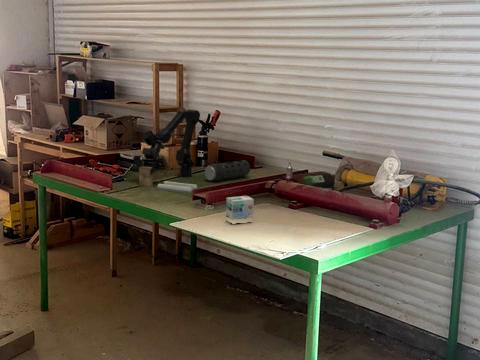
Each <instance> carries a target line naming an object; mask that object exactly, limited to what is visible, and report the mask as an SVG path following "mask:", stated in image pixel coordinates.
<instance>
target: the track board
mask: <svg viewBox="0 0 480 360" xmlns="http://www.w3.org/2000/svg"><path fill="white" fill-rule="evenodd" d="M196 188H198V185H197V184H193V183H182V182H175V181H166V180H164V181H163V183H158V184H157V187H156V190H161V191H165V192H166V191H167V192H173V193H174V192H175V193H182V194H183V193H184V194H191V193H193V192H194V191H193V190H194V189H196ZM198 189H199V188H198ZM192 191H193V192H192Z"/></svg>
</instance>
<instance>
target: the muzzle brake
mask: <svg viewBox="0 0 480 360" xmlns="http://www.w3.org/2000/svg"><path fill="white" fill-rule="evenodd" d="M250 171H251V165H250V163H249V161H247V160H246V159H243V160H236V161H229V162H223V163H222V162H221V163H212V164H209V165H207V166H206V167H205V169H204V175H205V178H206V179H207V180H208V181H212V182H214V181H216V182H221V181H220V180H222V181H223V180H226V179H229V178H231V179H236V178H235V177H239V178H242V177H241V176H248V175H249V174H250Z"/></svg>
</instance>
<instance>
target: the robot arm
mask: <svg viewBox="0 0 480 360" xmlns="http://www.w3.org/2000/svg"><path fill="white" fill-rule="evenodd" d="M200 117H201V113H200V111H198V110H196V109H188V110H178V111H177V112H176V114H175V116H174V117H173V118H172V119H171V120H170V121H169V123H168V124H167V125H166V126H165V127H164V128H161V129H160V130H159V131H158V132H156V133H155V134H154V133H153V131H152V130H150V129H149V130H147V131H146V132H144V133H143V134H142V135H141V137H140V138H141V140H142V141H143V142H144V143H145V144H146V145H147V146H149V147H150V148H148V147H143V148H142V151H141V154H142V155H144V157H142V155H138V154H135V155H134V156H133V158H132V160H133V161H134V163H135V165H137V166H138V168H139V167H142V166H144V167H145V163H148V164H153V165H152V166H151V167H152V169H151V172H150V175H152V174H153V175H154V174H155V173H156V172H157V171H159V170H160V169H162V168H165V169H166V168H167V166H168V163H167V161H166V159H165V158H164V157H160V153H161V150H164V149H165V148H166V147H165V146H164V144H167V143H168V142H170V140H171V139H172V136H173V133H174V132H175V130H176V129H177V128H178V127H179V126H180V124H181V123H182V122H183V120H185V124H186V125H185V129H184V134H183V138H182V143H181V147H180V148H179V149H177V150H176V155H175V157H174V158H175V161H176V162H177V165H178V166H179V168H178V176H179V177H182V178H189V177H193V174H192V167H194V165H195V162H194V161H193V159H192V155H191V154H192V153H191V151H190V150H191V145H192V140H193V135H194V131H195V126H196V125H197V124H198V123H199V120H200ZM163 143H164V144H163Z"/></svg>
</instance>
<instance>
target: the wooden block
mask: <svg viewBox="0 0 480 360" xmlns="http://www.w3.org/2000/svg"><path fill="white" fill-rule="evenodd" d="M152 167H153V166H151V167H150V166H145V165H144V166H142V167H139V166H138V185H139V186H140V187H141V186H142V187H148V188H149V187H153V186H154V173H153V174H152V175H150V172H151V169H152Z"/></svg>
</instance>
